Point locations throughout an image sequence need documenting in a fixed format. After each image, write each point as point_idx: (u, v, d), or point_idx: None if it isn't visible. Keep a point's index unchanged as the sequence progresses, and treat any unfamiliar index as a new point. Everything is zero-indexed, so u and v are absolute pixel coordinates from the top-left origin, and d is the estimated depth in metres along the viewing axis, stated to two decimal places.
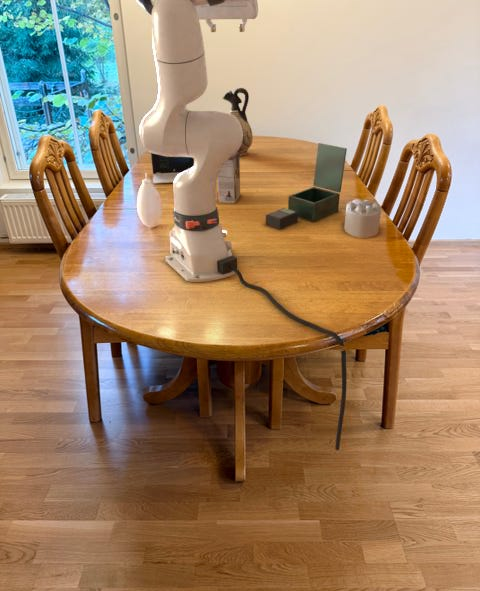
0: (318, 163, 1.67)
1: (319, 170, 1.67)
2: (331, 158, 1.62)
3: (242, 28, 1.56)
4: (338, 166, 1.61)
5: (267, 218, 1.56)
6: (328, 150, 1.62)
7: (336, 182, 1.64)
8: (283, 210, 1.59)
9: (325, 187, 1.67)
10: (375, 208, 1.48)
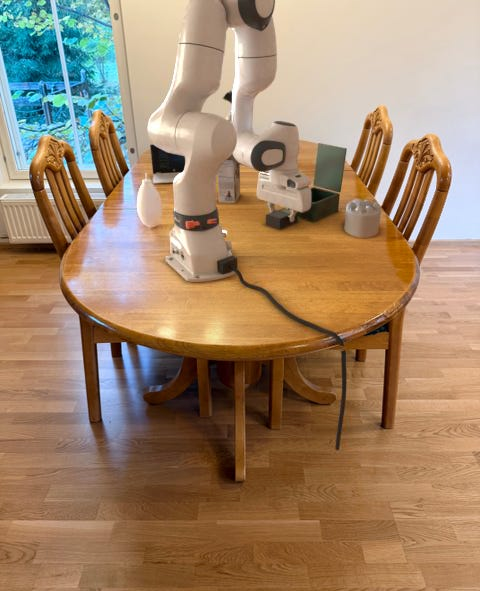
0: (318, 163, 1.67)
1: (319, 170, 1.67)
2: (331, 158, 1.62)
3: (289, 218, 1.54)
4: (338, 166, 1.61)
5: (267, 218, 1.56)
6: (328, 150, 1.62)
7: (336, 182, 1.64)
8: (283, 210, 1.59)
9: (325, 187, 1.67)
10: (375, 208, 1.48)
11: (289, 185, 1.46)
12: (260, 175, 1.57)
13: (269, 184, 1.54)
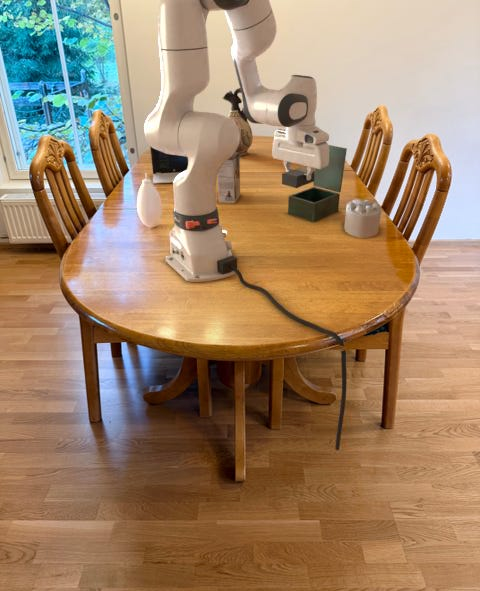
0: None
1: (319, 170, 1.67)
2: (331, 158, 1.62)
3: (306, 176, 1.52)
4: (338, 166, 1.61)
5: (283, 177, 1.54)
6: None
7: (336, 182, 1.64)
8: (299, 169, 1.57)
9: (325, 187, 1.67)
10: (375, 208, 1.48)
11: (307, 141, 1.44)
12: (276, 133, 1.55)
13: (285, 142, 1.51)
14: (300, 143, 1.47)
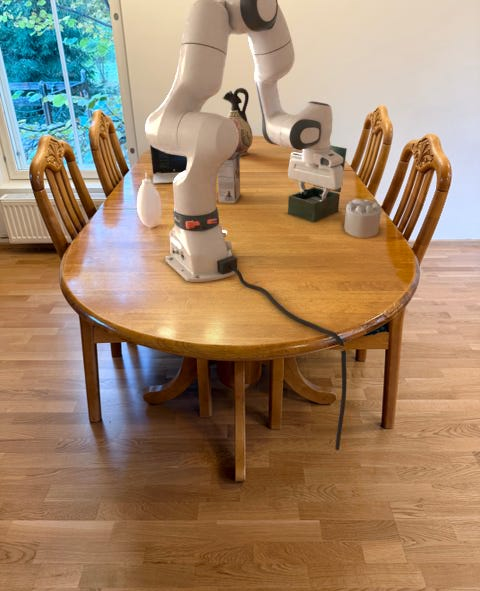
0: None
1: None
2: None
3: (322, 196, 1.60)
4: None
5: None
6: None
7: None
8: (314, 198, 1.66)
9: None
10: (375, 208, 1.48)
11: (322, 163, 1.52)
12: (292, 155, 1.63)
13: (301, 163, 1.60)
14: (316, 165, 1.55)
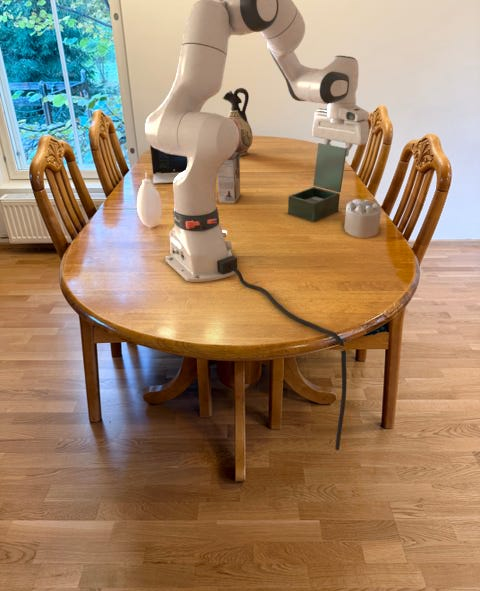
0: (318, 163, 1.67)
1: (319, 170, 1.67)
2: (331, 158, 1.62)
3: None
4: (338, 166, 1.61)
5: None
6: (328, 150, 1.62)
7: (336, 182, 1.64)
8: (314, 198, 1.66)
9: (325, 187, 1.67)
10: (375, 208, 1.48)
11: (348, 118, 1.53)
12: (316, 113, 1.64)
13: (326, 120, 1.61)
14: (341, 121, 1.56)
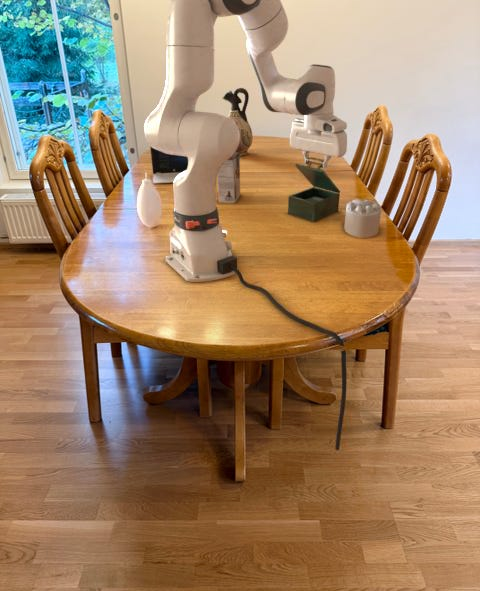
0: (305, 175, 1.64)
1: (310, 179, 1.65)
2: (314, 175, 1.59)
3: (323, 164, 1.55)
4: (325, 180, 1.59)
5: None
6: (307, 170, 1.58)
7: (331, 187, 1.63)
8: (314, 198, 1.66)
9: None
10: (375, 208, 1.48)
11: (325, 129, 1.47)
12: (294, 123, 1.58)
13: (303, 131, 1.55)
14: (318, 132, 1.50)
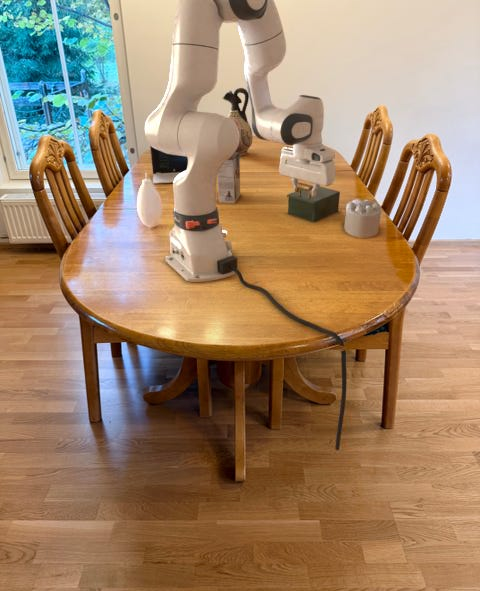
0: None
1: None
2: None
3: (311, 192, 1.56)
4: None
5: None
6: None
7: None
8: None
9: None
10: (375, 208, 1.48)
11: (314, 159, 1.48)
12: (283, 150, 1.59)
13: (293, 159, 1.56)
14: (307, 161, 1.51)
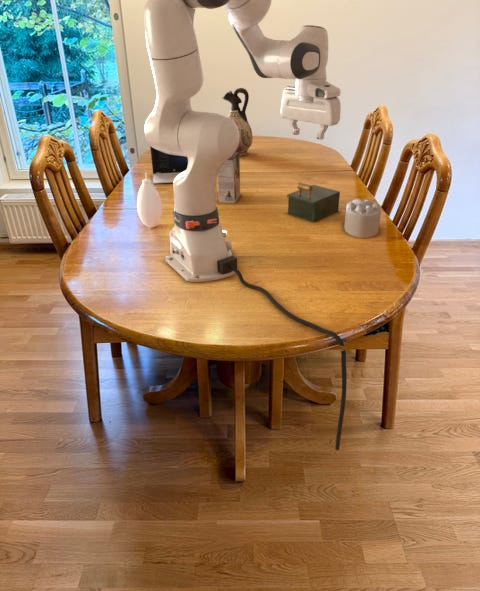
0: None
1: None
2: None
3: (319, 135, 1.46)
4: None
5: None
6: None
7: None
8: None
9: None
10: (375, 208, 1.48)
11: (317, 95, 1.39)
12: (285, 91, 1.50)
13: (295, 99, 1.47)
14: (310, 99, 1.42)
